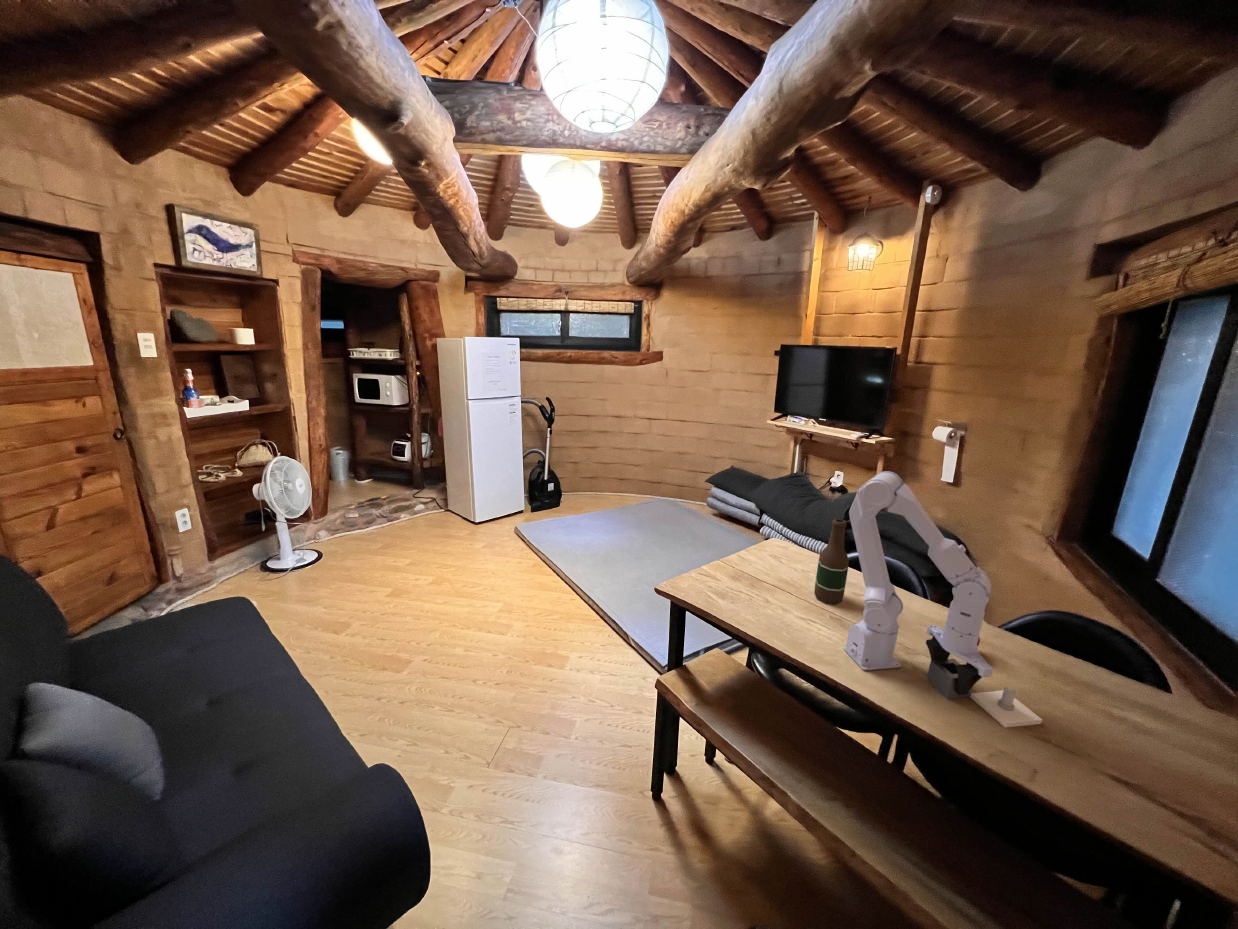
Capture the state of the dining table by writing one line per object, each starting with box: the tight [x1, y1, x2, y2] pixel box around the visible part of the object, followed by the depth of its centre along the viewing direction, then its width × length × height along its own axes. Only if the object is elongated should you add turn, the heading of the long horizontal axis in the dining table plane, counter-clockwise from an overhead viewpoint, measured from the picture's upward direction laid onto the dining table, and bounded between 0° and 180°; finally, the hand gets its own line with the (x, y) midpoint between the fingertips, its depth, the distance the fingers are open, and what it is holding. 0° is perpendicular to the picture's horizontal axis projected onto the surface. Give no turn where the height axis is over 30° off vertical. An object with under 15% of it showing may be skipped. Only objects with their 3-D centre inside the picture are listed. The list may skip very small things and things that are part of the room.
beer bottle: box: [813, 518, 850, 606], centre depth 133 cm, size 8×8×24 cm
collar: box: [926, 658, 974, 699], centre depth 101 cm, size 6×6×5 cm
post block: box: [970, 685, 1043, 729], centre depth 95 cm, size 8×8×5 cm
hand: (949, 682), depth 101 cm, fingers open, 6 cm apart
